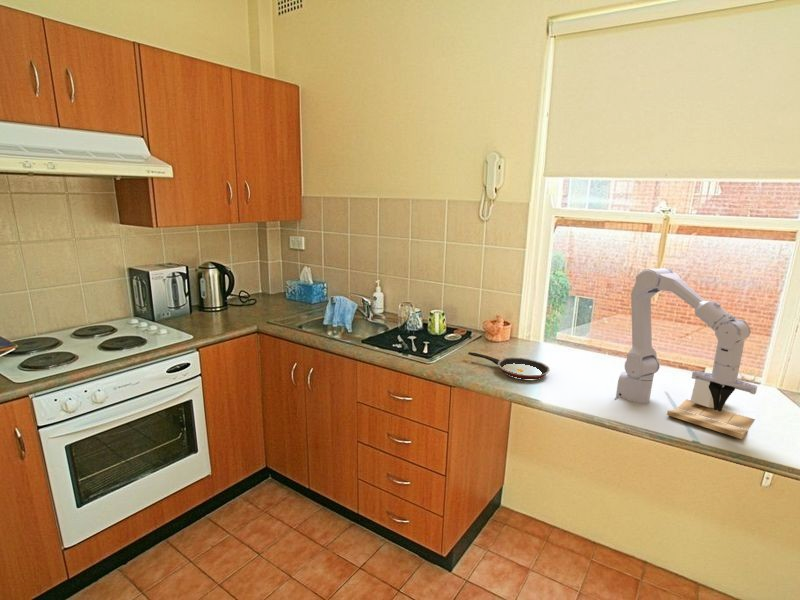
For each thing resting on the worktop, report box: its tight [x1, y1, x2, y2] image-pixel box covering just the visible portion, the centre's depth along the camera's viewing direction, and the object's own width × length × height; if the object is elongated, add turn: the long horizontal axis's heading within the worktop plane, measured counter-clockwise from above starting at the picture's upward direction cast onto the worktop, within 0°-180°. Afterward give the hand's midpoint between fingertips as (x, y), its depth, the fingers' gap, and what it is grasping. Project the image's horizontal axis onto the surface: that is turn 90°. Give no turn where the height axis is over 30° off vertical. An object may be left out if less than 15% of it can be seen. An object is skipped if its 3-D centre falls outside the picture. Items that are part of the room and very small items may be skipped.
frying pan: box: [467, 351, 551, 380], centre depth 170 cm, size 19×32×4 cm, turn 56°
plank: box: [666, 407, 749, 440], centre depth 129 cm, size 18×10×1 cm, turn 43°
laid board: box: [677, 398, 756, 431], centre depth 136 cm, size 18×10×1 cm, turn 43°
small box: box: [690, 379, 726, 408], centre depth 141 cm, size 8×6×10 cm
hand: (717, 409), depth 124 cm, fingers closed
